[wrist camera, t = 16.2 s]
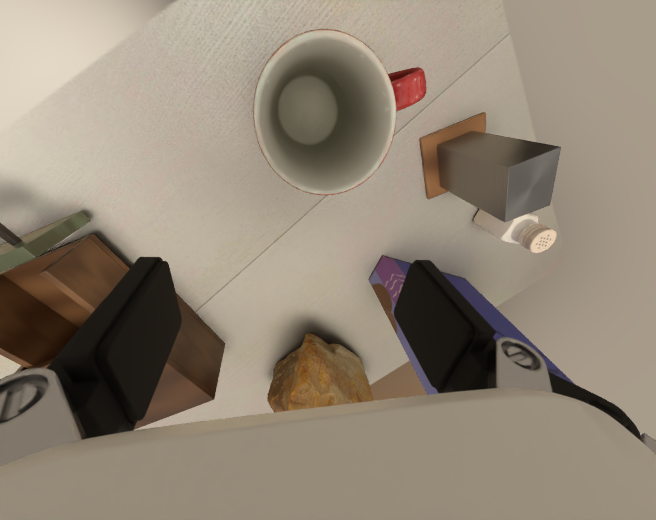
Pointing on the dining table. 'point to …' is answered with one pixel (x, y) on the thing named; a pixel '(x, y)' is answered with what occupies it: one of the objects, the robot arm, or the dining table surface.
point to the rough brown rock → (318, 377)
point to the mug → (329, 110)
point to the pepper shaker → (518, 230)
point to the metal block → (498, 173)
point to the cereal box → (394, 271)
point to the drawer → (51, 288)
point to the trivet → (431, 154)
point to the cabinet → (183, 369)
